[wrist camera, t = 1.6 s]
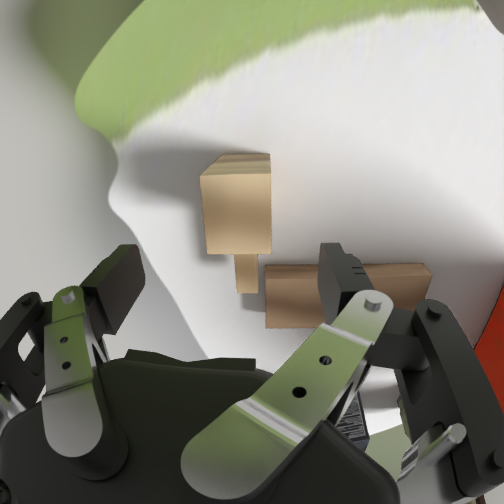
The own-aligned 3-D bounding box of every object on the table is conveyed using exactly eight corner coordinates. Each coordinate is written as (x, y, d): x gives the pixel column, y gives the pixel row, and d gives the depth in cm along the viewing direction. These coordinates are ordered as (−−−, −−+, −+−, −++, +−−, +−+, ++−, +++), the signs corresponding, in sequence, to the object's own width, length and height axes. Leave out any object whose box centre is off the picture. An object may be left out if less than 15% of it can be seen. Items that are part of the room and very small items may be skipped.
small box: (289, 409, 39) (291, 465, 30) (284, 388, 37) (285, 452, 27) (354, 398, 38) (365, 454, 29) (357, 376, 35) (371, 439, 26)
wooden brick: (221, 155, 22) (199, 175, 15) (269, 154, 22) (270, 173, 15) (229, 269, 27) (217, 325, 20) (270, 269, 27) (270, 326, 20)
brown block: (265, 265, 27) (265, 279, 25) (422, 263, 26) (432, 274, 24) (265, 313, 30) (265, 328, 28) (408, 307, 29) (416, 320, 27)
